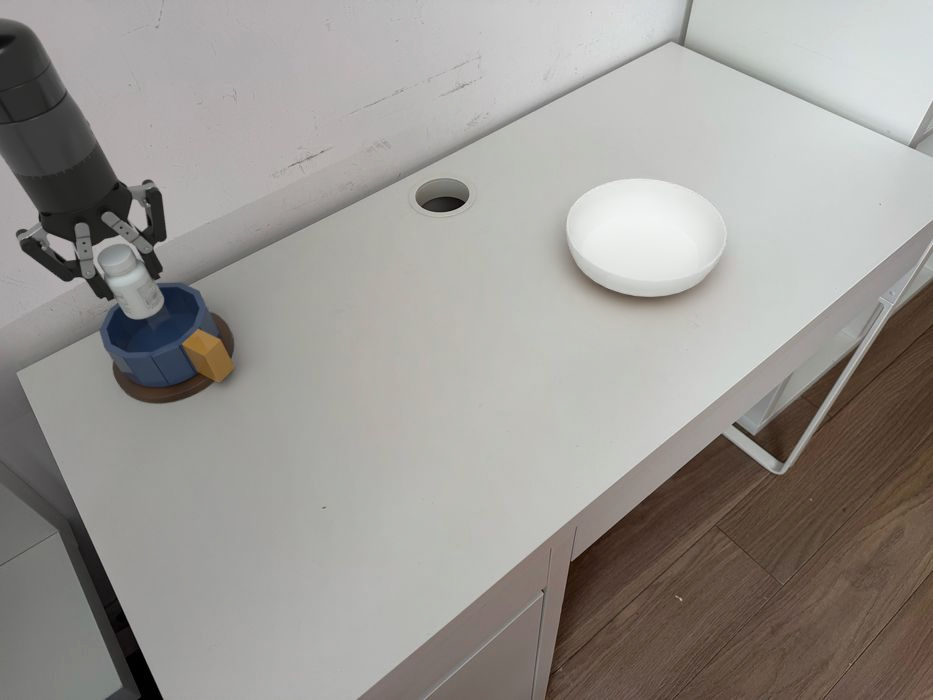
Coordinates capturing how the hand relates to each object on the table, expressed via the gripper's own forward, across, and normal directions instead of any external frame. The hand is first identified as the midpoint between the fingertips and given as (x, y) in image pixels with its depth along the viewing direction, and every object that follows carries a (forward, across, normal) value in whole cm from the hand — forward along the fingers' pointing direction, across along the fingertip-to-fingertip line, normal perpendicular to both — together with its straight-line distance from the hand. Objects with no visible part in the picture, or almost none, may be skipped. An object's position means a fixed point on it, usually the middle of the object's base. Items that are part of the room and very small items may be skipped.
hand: (132, 284), depth 74 cm
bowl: (+13, +55, -22) cm, 61 cm away
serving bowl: (+11, +1, -2) cm, 11 cm away
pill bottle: (+4, 0, 0) cm, 4 cm away
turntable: (+12, 0, 0) cm, 12 cm away
